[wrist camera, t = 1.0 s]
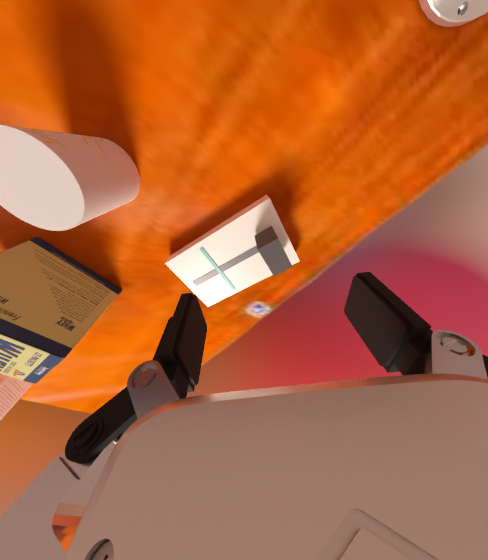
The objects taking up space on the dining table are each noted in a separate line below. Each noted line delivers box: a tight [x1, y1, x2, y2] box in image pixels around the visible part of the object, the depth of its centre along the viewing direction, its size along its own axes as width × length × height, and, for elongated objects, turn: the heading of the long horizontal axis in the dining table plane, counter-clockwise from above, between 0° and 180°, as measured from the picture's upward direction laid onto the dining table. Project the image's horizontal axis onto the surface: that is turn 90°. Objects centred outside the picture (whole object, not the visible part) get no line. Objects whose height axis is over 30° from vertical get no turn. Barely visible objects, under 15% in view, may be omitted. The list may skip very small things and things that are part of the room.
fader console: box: [165, 194, 299, 307], centre depth 32 cm, size 20×12×3 cm, turn 121°
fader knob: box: [254, 226, 293, 276], centre depth 27 cm, size 3×5×5 cm, turn 31°
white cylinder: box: [0, 125, 140, 231], centre depth 21 cm, size 8×8×12 cm
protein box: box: [0, 237, 122, 383], centre depth 29 cm, size 10×16×16 cm
